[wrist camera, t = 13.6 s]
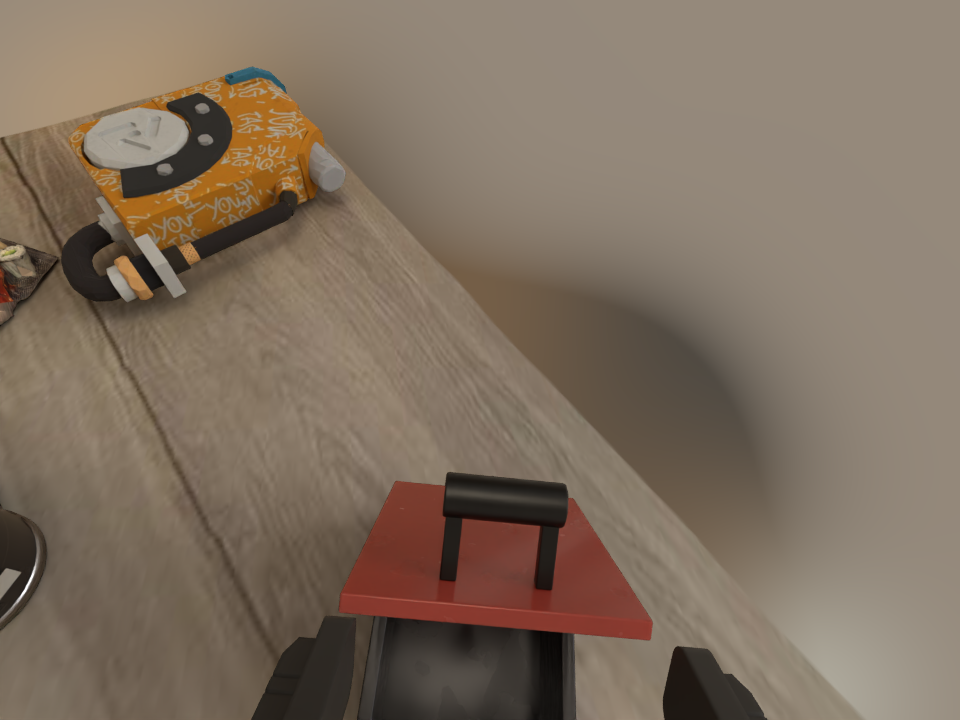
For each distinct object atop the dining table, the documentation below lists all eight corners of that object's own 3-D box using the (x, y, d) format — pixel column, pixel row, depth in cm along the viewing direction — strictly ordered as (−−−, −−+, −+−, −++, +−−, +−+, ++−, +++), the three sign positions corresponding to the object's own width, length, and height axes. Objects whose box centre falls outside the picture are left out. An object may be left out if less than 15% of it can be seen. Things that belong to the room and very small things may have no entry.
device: (378, 149, 52) (61, 286, 40) (384, 212, 59) (115, 344, 47) (266, 49, 60) (-27, 137, 48) (283, 114, 67) (31, 206, 55)
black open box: (549, 750, 34) (577, 766, 27) (367, 735, 34) (352, 748, 27) (549, 533, 41) (571, 505, 35) (400, 519, 41) (395, 488, 34)
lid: (651, 641, 20) (668, 508, 19) (337, 613, 19) (350, 477, 19) (572, 509, 34) (581, 433, 34) (393, 492, 34) (401, 415, 34)
